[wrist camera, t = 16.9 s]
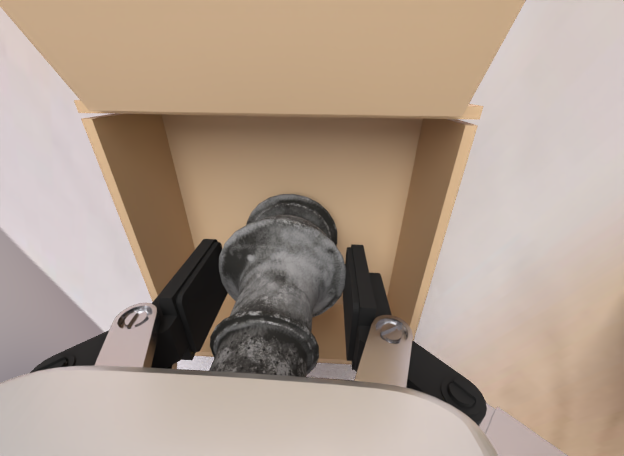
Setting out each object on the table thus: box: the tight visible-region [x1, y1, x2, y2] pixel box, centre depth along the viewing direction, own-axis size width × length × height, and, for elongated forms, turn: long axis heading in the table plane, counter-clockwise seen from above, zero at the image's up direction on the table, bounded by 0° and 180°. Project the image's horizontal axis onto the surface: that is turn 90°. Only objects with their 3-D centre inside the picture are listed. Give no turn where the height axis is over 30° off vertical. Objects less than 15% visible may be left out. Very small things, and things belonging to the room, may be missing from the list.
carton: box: [74, 100, 483, 364], centre depth 15 cm, size 14×14×5 cm
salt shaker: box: [209, 194, 346, 377], centre depth 10 cm, size 6×6×12 cm
